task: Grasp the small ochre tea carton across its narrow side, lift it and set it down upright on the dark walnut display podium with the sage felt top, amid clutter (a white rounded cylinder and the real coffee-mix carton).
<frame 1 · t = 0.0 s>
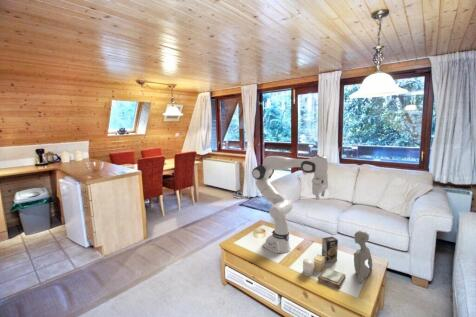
hand: (320, 198, 169), 48 cm above the table, fingers open, 8 cm apart
coffee box: (329, 259, 178), on the table
podium: (331, 279, 156), on the table
tea carton: (319, 268, 168), on the table
elf figurine: (360, 273, 161), on the table
white rounded cylinder: (308, 272, 164), on the table
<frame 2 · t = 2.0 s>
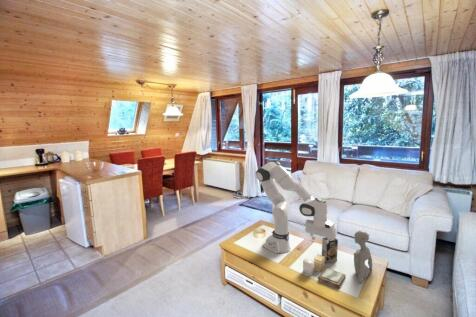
hand: (320, 241, 165), 20 cm above the table, fingers open, 8 cm apart
nothing on the table moved.
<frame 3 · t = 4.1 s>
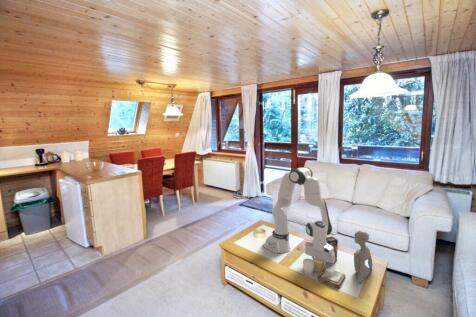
hand: (319, 263, 168), 3 cm above the table, fingers closed on tea carton, 5 cm apart
tea carton: (319, 268, 168), on the table, touching gripper
everything else where it was.
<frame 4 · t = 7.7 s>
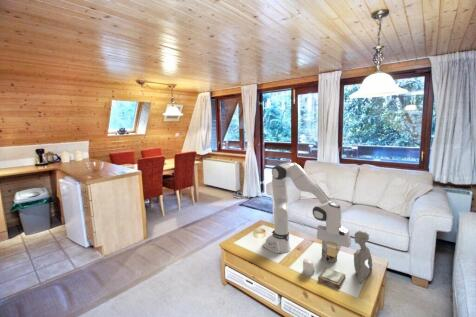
hand: (332, 249, 153), 21 cm above the table, fingers closed on tea carton, 5 cm apart
tea carton: (332, 253, 153), point 18 cm above the table, touching gripper
everything else where it was.
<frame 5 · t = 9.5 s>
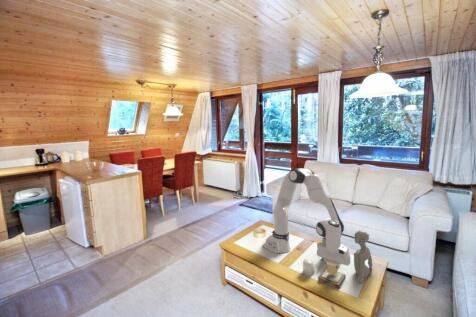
hand: (332, 266, 155), 9 cm above the table, fingers closed on tea carton, 5 cm apart
tea carton: (332, 270, 155), point 6 cm above the table, touching gripper
everything else where it was.
when the fingers open (7 cm above the table, at t = 10.9 s): tea carton stays where it is, resting on podium.
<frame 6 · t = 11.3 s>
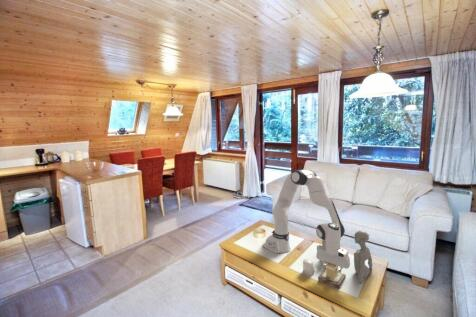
hand: (332, 269, 155), 7 cm above the table, fingers open, 8 cm apart
tea carton: (331, 274, 156), point 3 cm above the table, touching podium
everything else where it was.
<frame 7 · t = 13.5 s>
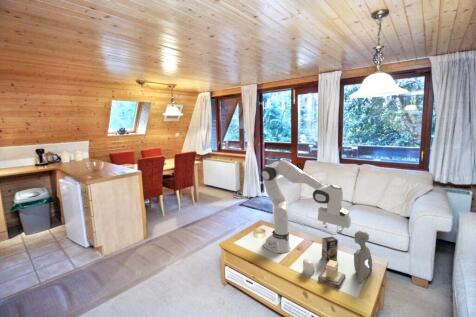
hand: (333, 230, 157), 31 cm above the table, fingers open, 8 cm apart
nothing on the table moved.
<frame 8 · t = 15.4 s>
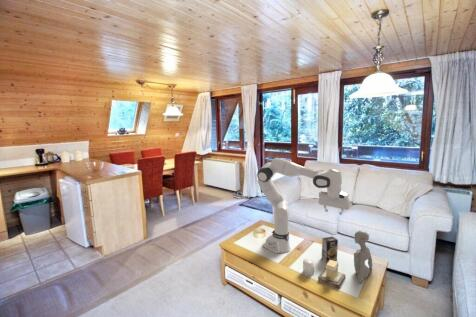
hand: (333, 212, 165), 39 cm above the table, fingers open, 8 cm apart
nothing on the table moved.
at the end: tea carton inside the target area on the podium (0.2 cm from its centre), point 3.0 cm above the podium's base; tea carton tilted 0°; the gripper is holding nothing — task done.
